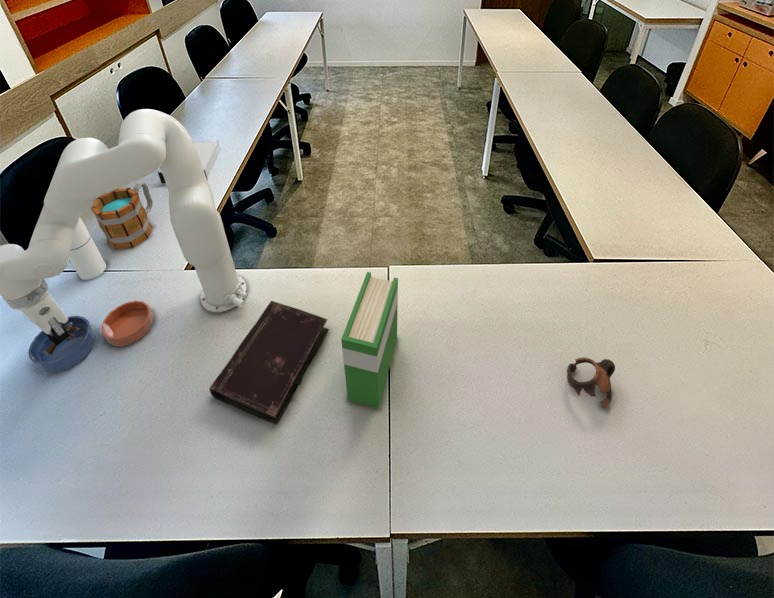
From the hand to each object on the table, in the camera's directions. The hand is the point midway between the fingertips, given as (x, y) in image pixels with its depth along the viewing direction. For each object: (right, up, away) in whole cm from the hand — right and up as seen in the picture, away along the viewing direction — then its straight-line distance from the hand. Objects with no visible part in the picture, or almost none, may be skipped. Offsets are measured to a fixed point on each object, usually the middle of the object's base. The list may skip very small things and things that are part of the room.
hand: (60, 338), depth 107 cm
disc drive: (+1, +40, +70) cm, 81 cm away
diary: (+54, -6, -1) cm, 55 cm away
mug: (-4, +20, +39) cm, 44 cm away
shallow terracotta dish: (+13, 0, +8) cm, 15 cm away
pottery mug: (+131, -9, -6) cm, 131 cm away
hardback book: (+79, -6, -2) cm, 79 cm away
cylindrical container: (-8, +10, +24) cm, 27 cm away
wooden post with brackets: (0, -2, +1) cm, 2 cm away
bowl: (0, -4, +2) cm, 4 cm away
